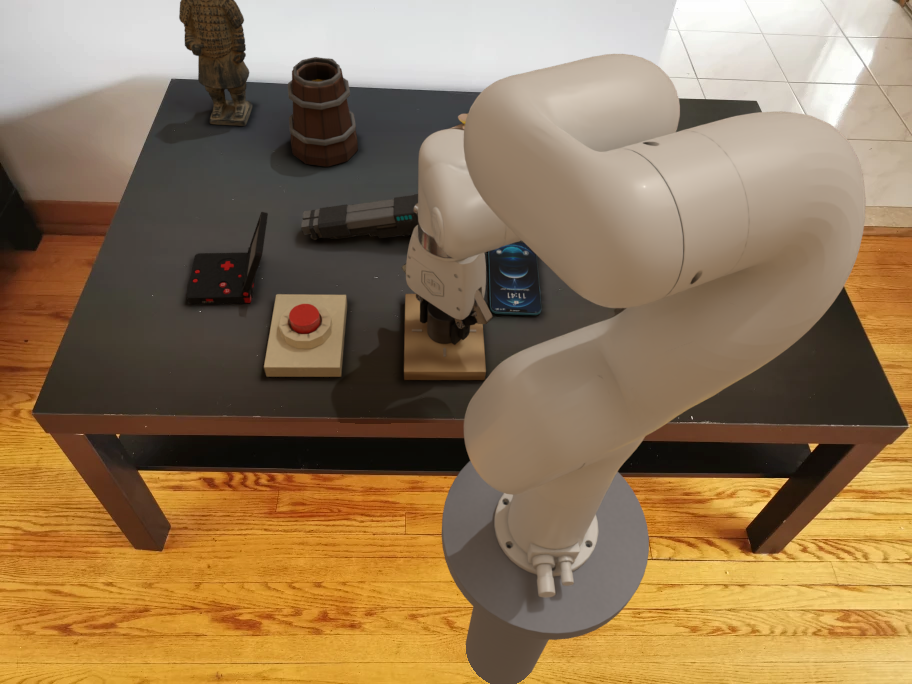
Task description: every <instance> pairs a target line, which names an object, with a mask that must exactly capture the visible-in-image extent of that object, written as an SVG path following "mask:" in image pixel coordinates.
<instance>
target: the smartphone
mask: <svg viewBox="0 0 912 684" xmlns="http://www.w3.org/2000/svg"><path fill="white" fill-rule="evenodd" d="M487 255H488V285H489V310H490V312H491V313H493V314H496V315H512V316H513V315H516V316H517V315H519V316H538V315H540V314H541V312H542V296H541V288H540V277H539V268H538V267H539V266H538V256H537V255H536V254H535V253H534V252H533V251H532V250H531V249H530V248H529V247H528V246H527V245H526V244H525V243H524V242H523V241H518V242H515V243H512V244H509V245H505V246H502V247H500V248H498V249H494V250H491V251H488V253H487Z"/></svg>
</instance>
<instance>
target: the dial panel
mask: <svg viewBox="0 0 912 684" xmlns="http://www.w3.org/2000/svg"><path fill="white" fill-rule="evenodd" d="M474 310H475V309H474ZM485 353H486V352H485V338H484V324H478V323H476V324H475V325H470V333H469V335H468V336H467V337H466V338H465V339H464V340H462V339H461V340H460V341H459V342H458V343H457V344H456V345H454V344H452V343H449V344H440V343H436V342H434V341H433V340H432V339H431V338H430V337H429V336H428V334H427V322H426V323H421V322H420V302H419V301H418V300H417V299H416V293H405V295H404V349H403V381H485V380H486V374H487V367H486V354H485Z"/></svg>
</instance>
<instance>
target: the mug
mask: <svg viewBox="0 0 912 684" xmlns="http://www.w3.org/2000/svg"><path fill="white" fill-rule="evenodd" d="M343 74H344V73H343V71H342V68H341V66H340V64H339V63H337V61H335V60H334V59H333V58H330V57H329V58H328V57H327V58H326V57H318V56H313V57H309V58H305V59H301V60H300V61H299V62H297V63H296V64H295V65H294V66H293V67H292V70H291V80H290V81H289V82H288V83H287V93H288V94H287V95H288V99H289V100H290V101H292V114H291V115H289V117H288V123H289V124H288V125H289V133H290V146H291V153H292V155H293V156H294V157H296V158H297V159H298V160H300V161H301V162H303V163H304V164H305V165H310V166H319V167H326V168H328V167H332V166H335V165H339V164H343V163H347V162H348V161H349V160H351V158H352V157H353V156H354V155H355V154H356V153H357V152H358V151H359V144H358V137H357V136H358V135H357V125H356V119H355V113H354V112H352V111H351V110H350V108H349V107H350V106H349V103H348V102H349V101H348V98H349V97H350V96H351V89H350V84H349V80H348V79H346V78H345V77H344V75H343Z"/></svg>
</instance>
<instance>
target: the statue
mask: <svg viewBox="0 0 912 684" xmlns="http://www.w3.org/2000/svg"><path fill="white" fill-rule="evenodd" d="M178 19H179V21H180V22H181V24H183V27H184V47H185V48H186V49H187V50H188V51H190V52H191V53H192V55H193V56H196V57H197V58H198V61H197V62H198V65H197V66H198V67H197V68H198V69H197V70H198V74H197V75H198V76H197V80H198V82H199V84H200V85H201V86H204V88H205V90H206V92H207V93H208V95H209V97H210V99H211V101H212V103H213V106H212V112H211V114H210V117H209V120H208V121H209V124H211V125H218V126H219V125H221V126H238V127H246V126H247V123H248V121H249V118H250V117H251V116H250V115H251V112H252V110H253V103H252V101H250V100H246V99H247V98H246V93H247V92H246V91H247V87H248V86H247V85H248V83H247V82H248V78H249V77H250V70H249V68H248V66H247V65H246V63H245V61H244V60H245V59H246V57H247V53H246V52H245V51H246V50H247V49H246V48H247V47H246V46H247V45H246V37H245V31H244V27H243V24H244V23H245V18H244V15H243V13H242V11H241V8H240V7H239V5H238V4H237V2H236V1H235V0H180V1H179V15H178ZM225 90H227V91H228V92H229V95H230V97H231V99H226V93H225Z"/></svg>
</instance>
